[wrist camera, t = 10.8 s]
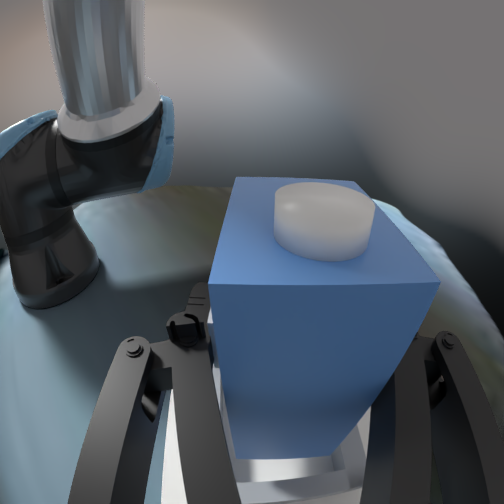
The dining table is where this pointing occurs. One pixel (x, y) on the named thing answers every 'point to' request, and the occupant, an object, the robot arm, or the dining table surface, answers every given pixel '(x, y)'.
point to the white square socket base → (278, 468)
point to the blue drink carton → (309, 311)
